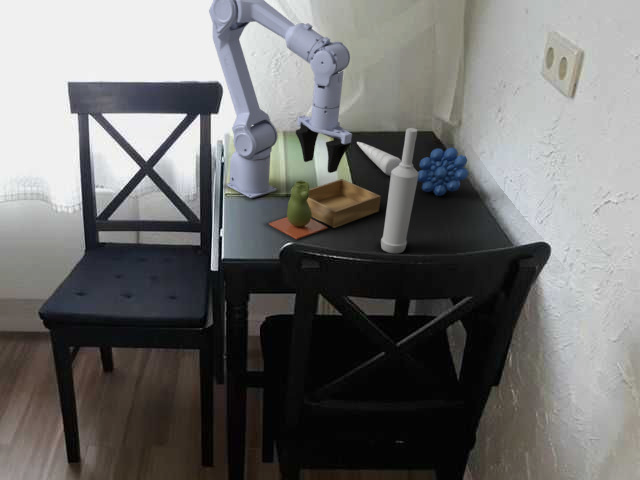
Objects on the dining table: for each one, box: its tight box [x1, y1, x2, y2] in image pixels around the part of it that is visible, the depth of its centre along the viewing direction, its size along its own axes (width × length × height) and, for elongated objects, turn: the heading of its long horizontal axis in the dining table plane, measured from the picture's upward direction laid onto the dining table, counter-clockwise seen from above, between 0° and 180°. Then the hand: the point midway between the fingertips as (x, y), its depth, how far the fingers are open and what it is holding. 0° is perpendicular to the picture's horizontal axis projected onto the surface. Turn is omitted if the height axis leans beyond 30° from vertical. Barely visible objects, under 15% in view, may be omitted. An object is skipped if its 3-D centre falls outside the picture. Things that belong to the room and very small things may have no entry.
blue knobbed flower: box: [417, 147, 469, 197], centre depth 175 cm, size 12×7×12 cm, turn 59°
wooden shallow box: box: [307, 178, 382, 229], centre depth 169 cm, size 12×14×4 cm
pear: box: [286, 180, 313, 227], centre depth 160 cm, size 6×5×10 cm
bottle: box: [380, 127, 419, 254], centre depth 148 cm, size 5×5×25 cm
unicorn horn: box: [356, 141, 402, 177], centre depth 195 cm, size 5×24×5 cm, turn 9°
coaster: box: [268, 216, 328, 241], centre depth 163 cm, size 9×9×1 cm
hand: (320, 166), depth 165 cm, fingers open, 7 cm apart
